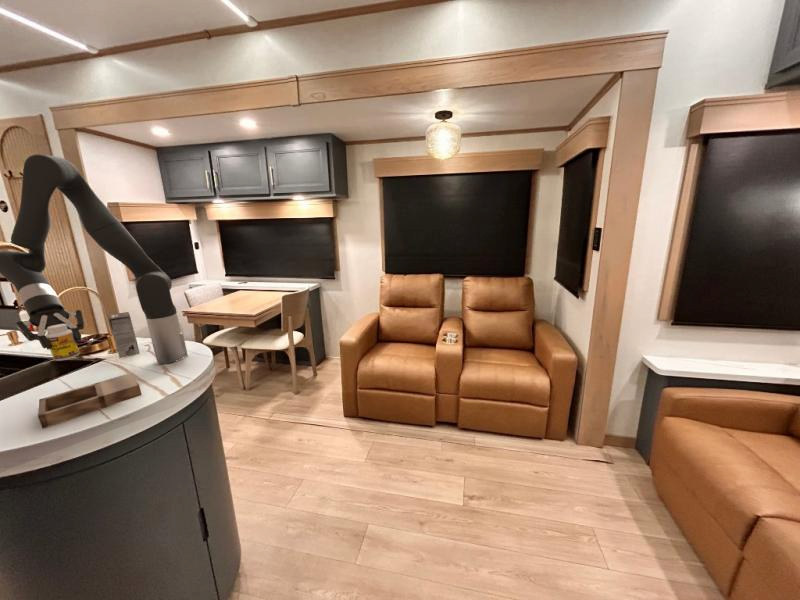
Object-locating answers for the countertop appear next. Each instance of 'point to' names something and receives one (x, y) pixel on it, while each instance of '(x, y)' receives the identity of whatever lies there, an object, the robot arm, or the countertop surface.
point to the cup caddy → (87, 399)
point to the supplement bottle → (62, 342)
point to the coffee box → (123, 334)
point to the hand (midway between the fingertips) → (64, 343)
